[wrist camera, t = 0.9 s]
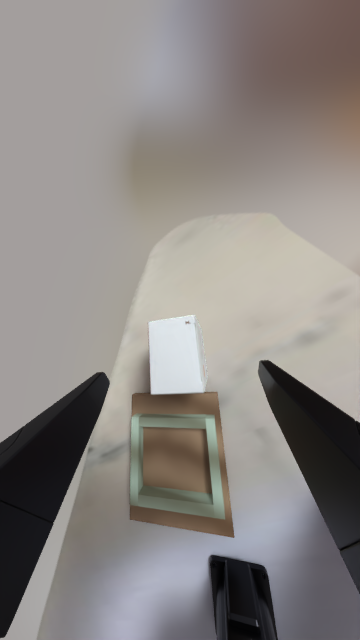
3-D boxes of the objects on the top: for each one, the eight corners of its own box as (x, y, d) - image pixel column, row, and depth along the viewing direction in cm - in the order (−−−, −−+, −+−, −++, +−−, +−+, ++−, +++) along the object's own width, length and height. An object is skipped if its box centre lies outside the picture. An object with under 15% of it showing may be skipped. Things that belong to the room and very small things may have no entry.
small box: (171, 333, 27) (146, 319, 17) (202, 329, 25) (195, 312, 16) (175, 380, 24) (148, 396, 15) (208, 378, 23) (204, 394, 13)
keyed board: (233, 528, 19) (236, 553, 16) (133, 512, 21) (123, 531, 19) (217, 391, 23) (217, 396, 20) (135, 393, 25) (127, 397, 23)
